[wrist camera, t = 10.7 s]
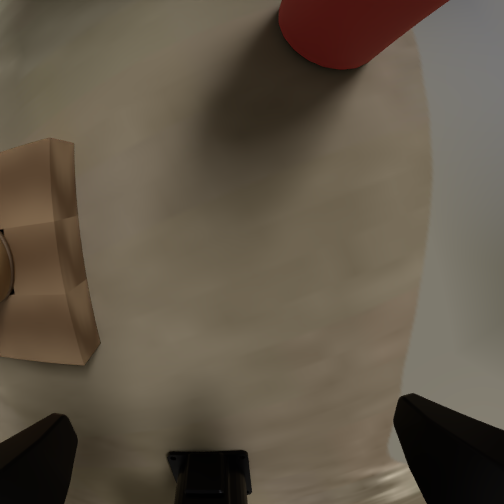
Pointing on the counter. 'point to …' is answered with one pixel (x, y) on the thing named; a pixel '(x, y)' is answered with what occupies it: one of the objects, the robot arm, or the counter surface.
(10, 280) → the peg
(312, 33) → the beer can
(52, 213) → the board
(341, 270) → the counter surface
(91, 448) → the counter surface
